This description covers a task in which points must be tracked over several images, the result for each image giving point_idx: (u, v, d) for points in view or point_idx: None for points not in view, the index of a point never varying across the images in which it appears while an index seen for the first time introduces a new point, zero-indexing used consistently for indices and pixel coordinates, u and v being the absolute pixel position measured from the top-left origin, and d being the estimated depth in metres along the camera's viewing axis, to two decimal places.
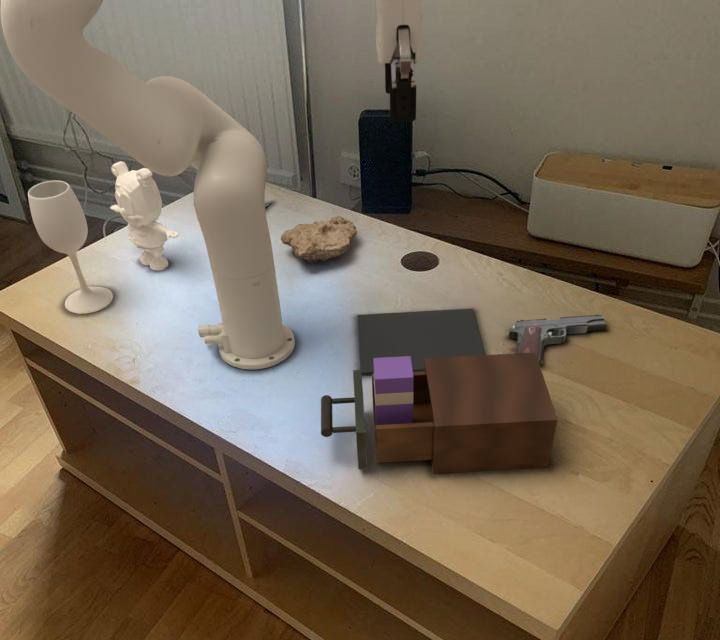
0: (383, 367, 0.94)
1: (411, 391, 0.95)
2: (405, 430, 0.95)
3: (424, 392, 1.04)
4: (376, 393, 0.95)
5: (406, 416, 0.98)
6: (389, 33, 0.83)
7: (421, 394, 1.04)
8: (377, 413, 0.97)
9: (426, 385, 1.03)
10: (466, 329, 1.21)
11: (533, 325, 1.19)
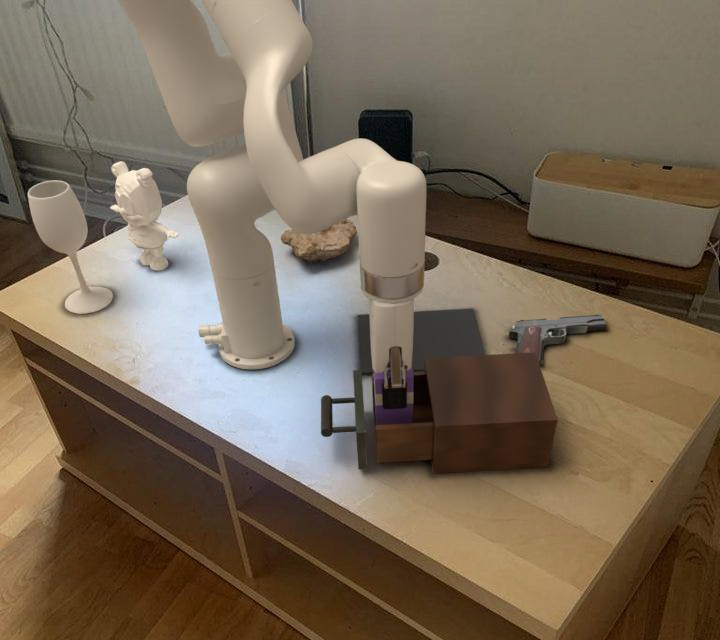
0: None
1: (411, 391, 0.95)
2: (405, 430, 0.95)
3: (424, 392, 1.04)
4: (376, 393, 0.95)
5: (406, 416, 0.98)
6: (382, 352, 0.86)
7: (421, 394, 1.04)
8: (377, 413, 0.97)
9: (426, 385, 1.03)
10: (466, 329, 1.21)
11: (533, 325, 1.19)
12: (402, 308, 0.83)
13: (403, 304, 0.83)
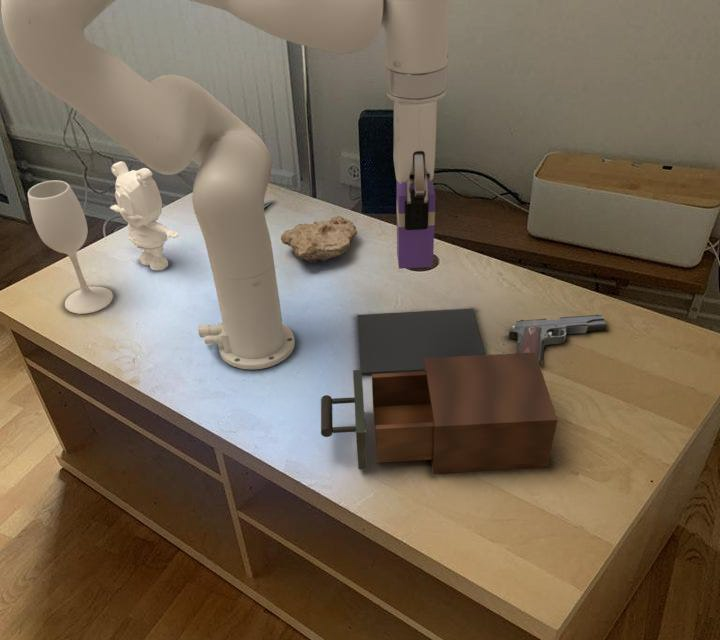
0: (406, 188, 0.99)
1: (433, 211, 0.99)
2: (405, 430, 0.95)
3: (424, 392, 1.04)
4: (399, 213, 1.00)
5: (428, 240, 1.03)
6: (406, 158, 0.91)
7: (421, 394, 1.04)
8: (400, 236, 1.02)
9: (426, 385, 1.03)
10: (466, 329, 1.21)
11: (533, 325, 1.19)
12: (426, 108, 0.88)
13: (427, 104, 0.88)
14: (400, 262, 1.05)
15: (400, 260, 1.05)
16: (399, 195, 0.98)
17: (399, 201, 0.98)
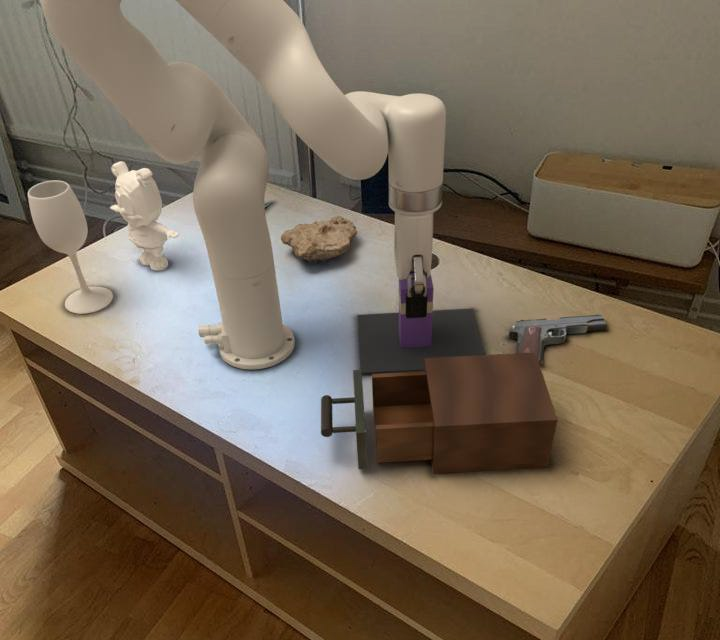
0: None
1: (431, 301, 1.11)
2: (405, 430, 0.95)
3: (424, 392, 1.04)
4: (401, 302, 1.11)
5: (426, 324, 1.15)
6: (406, 260, 1.03)
7: (421, 394, 1.04)
8: (402, 322, 1.14)
9: (426, 385, 1.03)
10: (466, 329, 1.21)
11: (533, 325, 1.19)
12: (424, 220, 1.00)
13: (425, 216, 0.99)
14: (402, 343, 1.17)
15: (402, 341, 1.17)
16: (401, 288, 1.10)
17: (401, 293, 1.10)
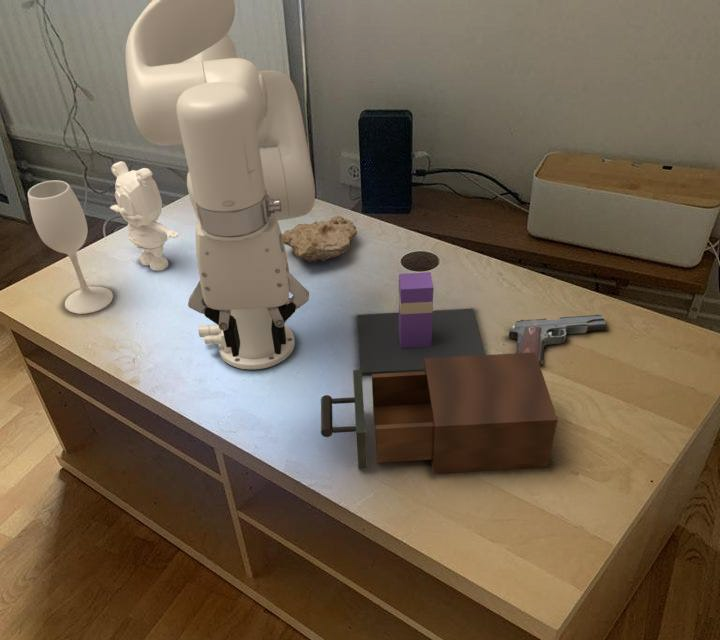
0: (408, 281, 1.11)
1: (431, 301, 1.11)
2: (405, 430, 0.95)
3: (424, 392, 1.04)
4: (401, 302, 1.11)
5: (426, 324, 1.15)
6: None
7: (421, 394, 1.04)
8: (402, 322, 1.14)
9: (426, 385, 1.03)
10: (466, 329, 1.21)
11: (533, 325, 1.19)
12: None
13: (197, 231, 0.79)
14: (402, 343, 1.17)
15: (402, 341, 1.17)
16: (401, 288, 1.10)
17: (401, 293, 1.10)
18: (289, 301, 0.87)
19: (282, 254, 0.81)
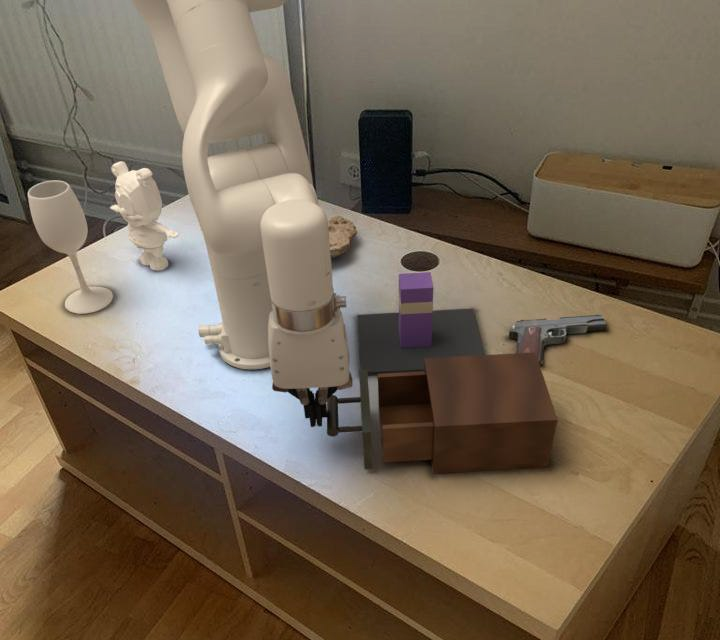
0: (408, 281, 1.11)
1: (431, 301, 1.11)
2: (411, 430, 0.95)
3: None
4: (401, 302, 1.11)
5: (426, 324, 1.15)
6: None
7: (427, 394, 1.04)
8: (402, 322, 1.14)
9: None
10: (466, 329, 1.21)
11: (533, 325, 1.19)
12: (269, 326, 0.88)
13: (271, 323, 0.88)
14: (402, 343, 1.17)
15: (402, 341, 1.17)
16: (401, 288, 1.10)
17: (401, 293, 1.10)
18: None
19: (345, 342, 0.90)
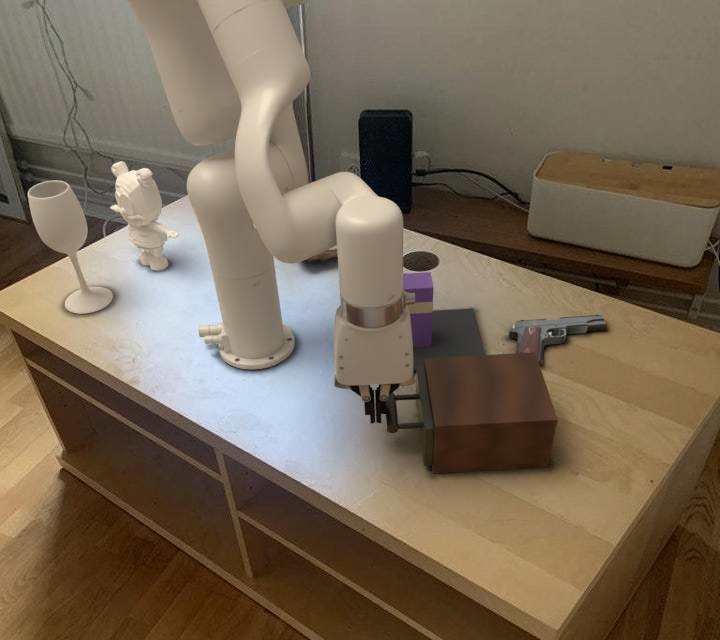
0: (408, 281, 1.11)
1: (431, 301, 1.11)
2: None
3: None
4: None
5: (426, 324, 1.15)
6: None
7: None
8: None
9: None
10: (466, 329, 1.21)
11: (533, 325, 1.19)
12: (336, 322, 0.88)
13: (339, 320, 0.88)
14: None
15: None
16: None
17: None
18: None
19: (411, 339, 0.90)
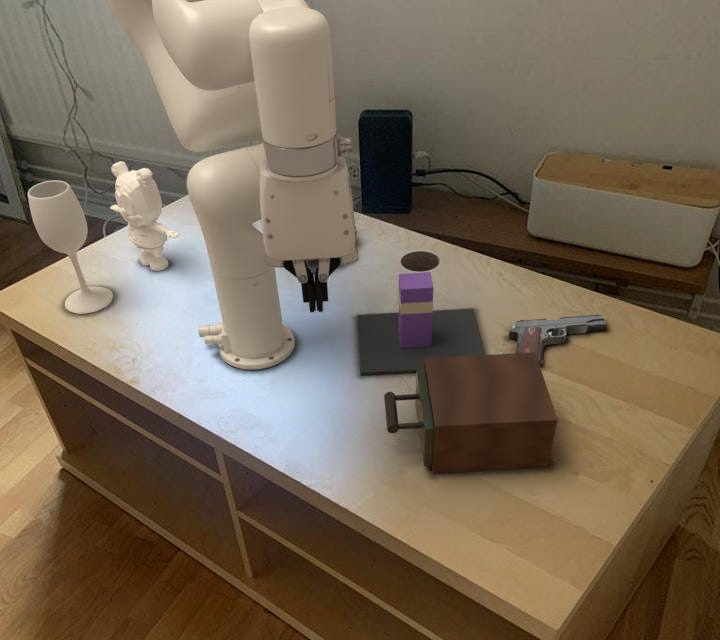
0: (408, 281, 1.11)
1: (431, 301, 1.11)
2: None
3: None
4: (401, 302, 1.11)
5: (426, 324, 1.15)
6: None
7: None
8: (402, 322, 1.14)
9: None
10: (466, 329, 1.21)
11: (533, 325, 1.19)
12: (260, 176, 0.75)
13: (263, 172, 0.74)
14: (402, 343, 1.17)
15: (402, 341, 1.17)
16: (401, 288, 1.10)
17: (401, 293, 1.10)
18: None
19: (350, 199, 0.77)
